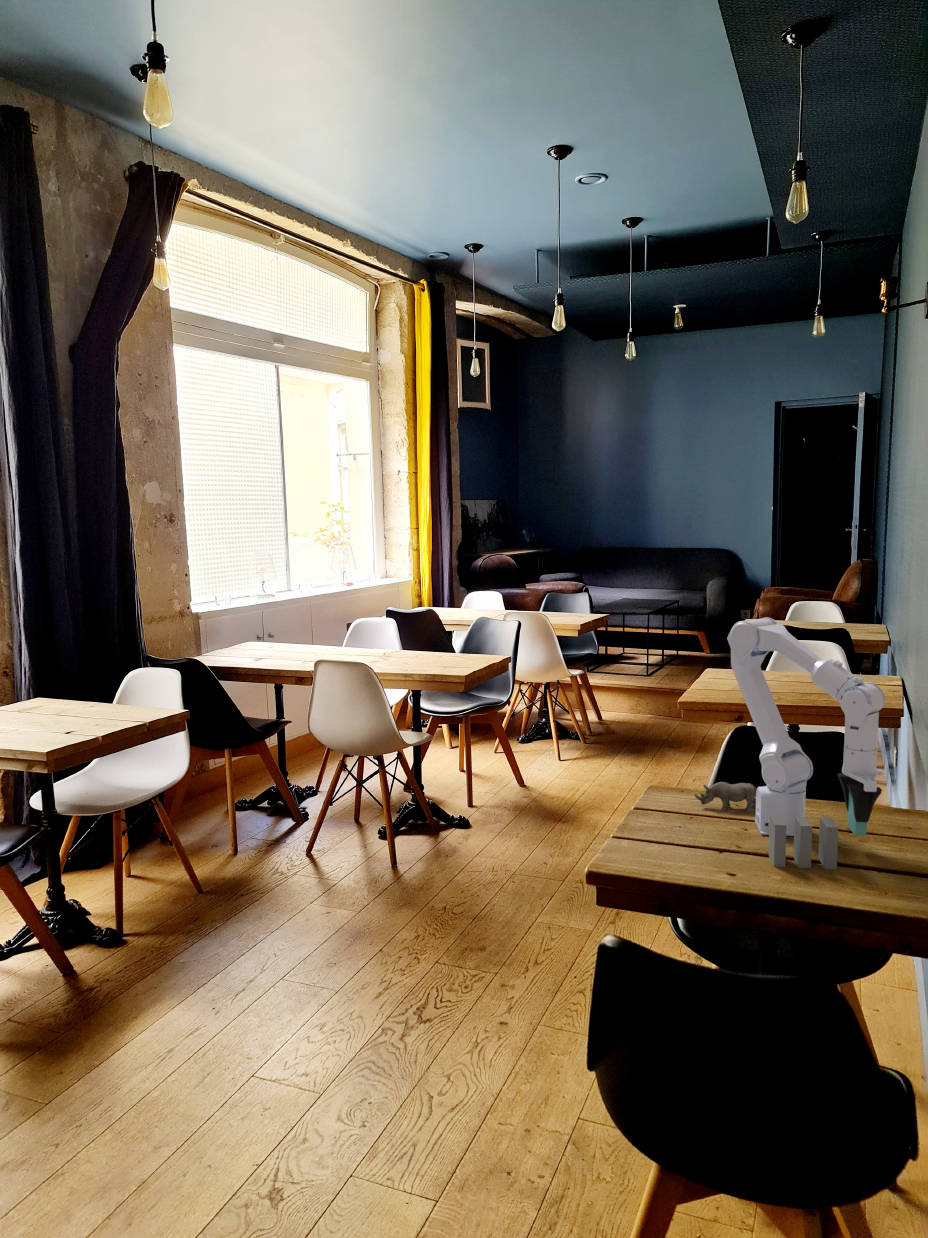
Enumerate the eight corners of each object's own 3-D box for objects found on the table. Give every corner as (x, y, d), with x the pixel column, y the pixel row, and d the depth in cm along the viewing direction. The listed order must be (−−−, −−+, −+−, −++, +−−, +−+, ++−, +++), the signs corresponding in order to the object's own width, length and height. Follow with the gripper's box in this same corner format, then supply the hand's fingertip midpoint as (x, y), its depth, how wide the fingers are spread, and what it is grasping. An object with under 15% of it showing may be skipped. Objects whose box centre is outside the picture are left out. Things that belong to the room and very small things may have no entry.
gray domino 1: (773, 866, 158) (775, 825, 157) (768, 856, 163) (769, 815, 162) (785, 867, 158) (786, 825, 157) (779, 856, 162) (780, 816, 161)
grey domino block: (825, 869, 156) (826, 827, 155) (818, 858, 161) (819, 817, 160) (836, 869, 156) (838, 827, 155) (829, 858, 161) (831, 817, 160)
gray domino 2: (799, 868, 157) (800, 826, 156) (793, 857, 162) (794, 816, 161) (810, 868, 157) (812, 826, 156) (804, 857, 162) (805, 817, 161)
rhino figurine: (693, 804, 193) (693, 778, 192) (756, 806, 190) (757, 780, 190) (695, 810, 189) (695, 784, 188) (760, 813, 186) (760, 786, 186)
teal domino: (855, 835, 162) (856, 794, 161) (847, 825, 167) (849, 786, 166) (866, 835, 161) (868, 795, 160) (858, 826, 166) (860, 786, 165)
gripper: (895, 758, 154) (892, 831, 156) (871, 738, 168) (868, 804, 170) (854, 757, 155) (851, 829, 157) (833, 737, 170) (830, 803, 171)
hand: (857, 816), depth 164 cm, fingers closed on teal domino, 5 cm apart
